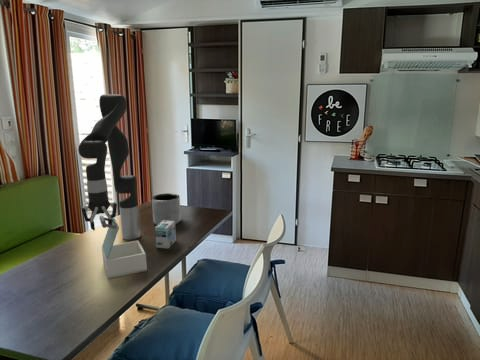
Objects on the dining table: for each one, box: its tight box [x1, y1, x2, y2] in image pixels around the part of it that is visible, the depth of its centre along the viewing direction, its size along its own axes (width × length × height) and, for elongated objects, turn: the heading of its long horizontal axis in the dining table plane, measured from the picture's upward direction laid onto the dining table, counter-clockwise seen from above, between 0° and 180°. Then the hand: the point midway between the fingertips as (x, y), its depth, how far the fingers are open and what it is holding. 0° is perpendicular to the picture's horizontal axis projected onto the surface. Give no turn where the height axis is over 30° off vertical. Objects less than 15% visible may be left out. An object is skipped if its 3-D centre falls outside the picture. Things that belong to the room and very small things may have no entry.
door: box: [99, 215, 120, 260], centre depth 153 cm, size 15×14×6 cm
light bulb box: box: [154, 220, 177, 249], centre depth 182 cm, size 11×7×11 cm, turn 168°
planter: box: [151, 192, 182, 226], centre depth 213 cm, size 16×16×16 cm
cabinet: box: [101, 240, 148, 280], centre depth 159 cm, size 16×16×8 cm
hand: (101, 228), depth 152 cm, fingers open, 5 cm apart
